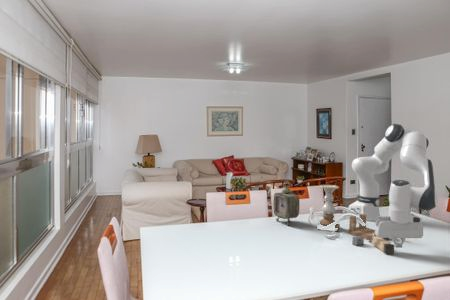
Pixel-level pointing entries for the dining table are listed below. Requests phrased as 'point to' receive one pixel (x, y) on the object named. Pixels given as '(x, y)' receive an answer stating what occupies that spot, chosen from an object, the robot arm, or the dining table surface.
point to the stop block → (358, 240)
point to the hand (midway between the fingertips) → (398, 247)
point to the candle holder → (328, 206)
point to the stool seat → (360, 228)
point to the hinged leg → (382, 244)
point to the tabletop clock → (286, 204)
